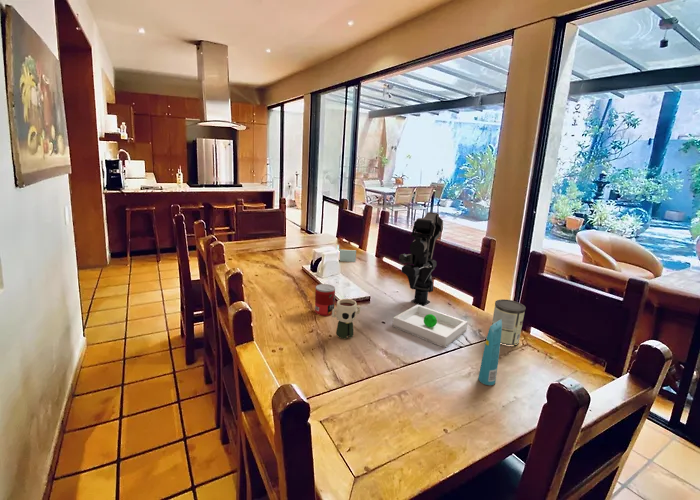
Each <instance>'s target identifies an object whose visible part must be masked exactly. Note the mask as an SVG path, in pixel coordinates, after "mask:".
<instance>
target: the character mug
mask: <svg viewBox="0 0 700 500" xmlns="http://www.w3.org/2000/svg"><path fill="white" fill-rule="evenodd" d="M360 313H361V305H358V304H357V301H356V300H354V299H349V298H341V299H338V300H337V301H336V307H334V309H333V310H332V315H331V317H332V318H336V320H337V321H338V323H337V328H336V333H335V334H336V336H337V337H338V338H340V339H346V340H347V339H348V338H349V339H351V338H354V333H355V332H354V323H353V322H354V321H355V320H356V318H357V315H360Z"/></svg>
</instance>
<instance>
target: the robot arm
mask: <svg viewBox="0 0 700 500" xmlns="http://www.w3.org/2000/svg"><path fill="white" fill-rule="evenodd" d="M439 215H440V214H439V213H437V212H431V211H428V212H426V215H425V216H424V217H423V218H422V217H418V218H416V220H414V224H413V226H412V231H411V235H410V236H411V237H414V240H413V241H412V242H411V243H410V245H409V252H410V253H408V254H406V253H400V254H399V257H398V258H399V259H398V260H399V262H400V263H401V264H404V265H403V266H401V271H400V272H401V273H402V274H404V275H405V276H406V277H407V280H408V285H409V288H410V289H412V290H414V291H415V293H414V299H411V300H410V302H411V303H414V304H416V305H417V304H418V305H421V306H424V307H425V305H427V304H429V303H431V301H430V300H428V296H429V293H431V292H434V282H433V277H432V272H433V271H434V270H435V268H436V267H437V261H436V259H433V255H434V250H435V245H436V241H437V240H438V239H439V237H441V234H442V232H443V230H444V220H443V219H442V218H441V217H440V216H439ZM406 263H408V264H406Z"/></svg>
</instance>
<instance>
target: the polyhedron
mask: <svg viewBox="0 0 700 500" xmlns="http://www.w3.org/2000/svg"><path fill="white" fill-rule="evenodd" d="M424 323H425V325H426V326H428V327H434V326H435V325H436V324H437V319H436V317H435V316H434V315H432V314H428V315H426V316H425V317H424Z"/></svg>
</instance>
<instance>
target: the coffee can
mask: <svg viewBox="0 0 700 500" xmlns="http://www.w3.org/2000/svg"><path fill="white" fill-rule="evenodd" d="M525 312H526V306H525V305H524V304H522V303H521V302H518V301H515V300H511V299H502V298H501V299H496V300H495V301H494V309H493V316H492V322H491V325H493V324H494V323H496V322H497V321H499V320H501V319H502V332H501V342H500V343H502V344H506V345H515V344H518V343H519V344H520V338H521V334H522V333H521V332H522V327H523V322H524V317H525ZM519 344H518V345H519Z"/></svg>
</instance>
